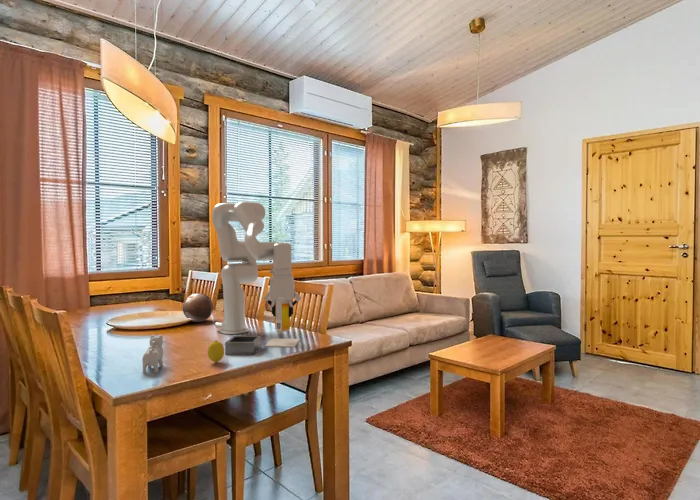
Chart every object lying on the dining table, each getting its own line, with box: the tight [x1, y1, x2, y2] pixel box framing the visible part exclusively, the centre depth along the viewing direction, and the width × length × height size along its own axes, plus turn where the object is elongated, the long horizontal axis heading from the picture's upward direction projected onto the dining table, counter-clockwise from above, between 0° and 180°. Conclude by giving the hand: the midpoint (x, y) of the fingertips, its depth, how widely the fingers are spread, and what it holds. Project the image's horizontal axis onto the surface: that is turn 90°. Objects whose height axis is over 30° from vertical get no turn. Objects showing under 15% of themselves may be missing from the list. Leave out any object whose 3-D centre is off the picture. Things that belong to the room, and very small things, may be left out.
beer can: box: [274, 297, 291, 333], centre depth 184 cm, size 6×6×15 cm
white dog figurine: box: [141, 334, 164, 374], centre depth 151 cm, size 5×13×11 cm, turn 11°
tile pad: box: [264, 338, 301, 348], centre depth 185 cm, size 12×12×1 cm
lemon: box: [207, 340, 225, 364], centre depth 156 cm, size 6×6×8 cm
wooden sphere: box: [182, 292, 214, 323], centre depth 232 cm, size 15×15×15 cm
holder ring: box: [224, 335, 262, 356], centre depth 173 cm, size 11×11×4 cm
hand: (282, 315), depth 184 cm, fingers closed on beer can, 5 cm apart
